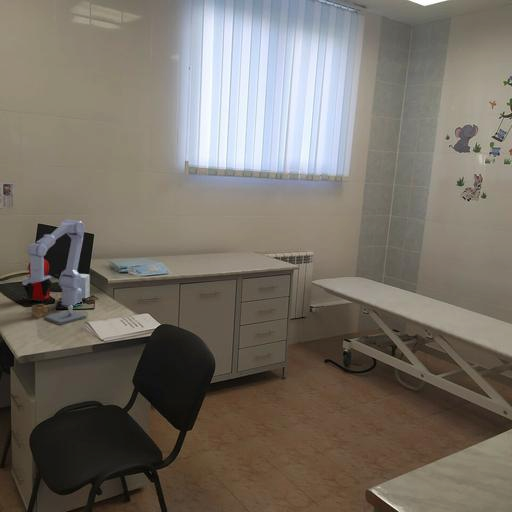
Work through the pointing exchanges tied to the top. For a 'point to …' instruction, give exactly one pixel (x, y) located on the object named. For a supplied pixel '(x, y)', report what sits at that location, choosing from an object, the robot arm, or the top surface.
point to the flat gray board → (64, 317)
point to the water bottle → (37, 286)
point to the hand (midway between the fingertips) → (37, 297)
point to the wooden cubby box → (40, 310)
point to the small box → (85, 285)
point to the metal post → (70, 310)
